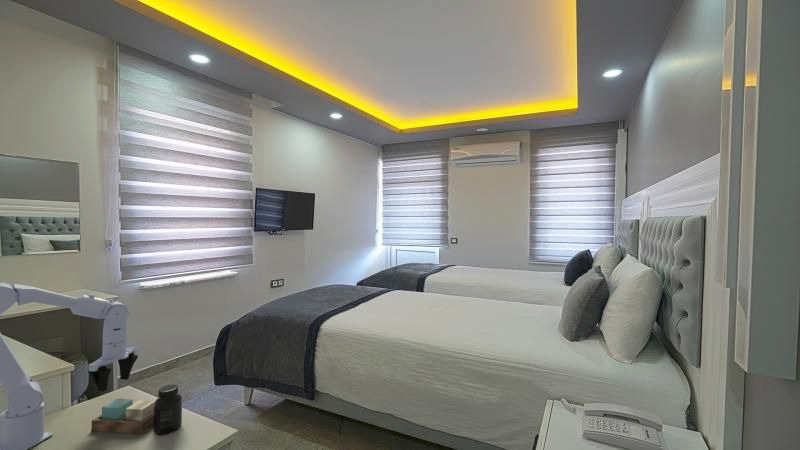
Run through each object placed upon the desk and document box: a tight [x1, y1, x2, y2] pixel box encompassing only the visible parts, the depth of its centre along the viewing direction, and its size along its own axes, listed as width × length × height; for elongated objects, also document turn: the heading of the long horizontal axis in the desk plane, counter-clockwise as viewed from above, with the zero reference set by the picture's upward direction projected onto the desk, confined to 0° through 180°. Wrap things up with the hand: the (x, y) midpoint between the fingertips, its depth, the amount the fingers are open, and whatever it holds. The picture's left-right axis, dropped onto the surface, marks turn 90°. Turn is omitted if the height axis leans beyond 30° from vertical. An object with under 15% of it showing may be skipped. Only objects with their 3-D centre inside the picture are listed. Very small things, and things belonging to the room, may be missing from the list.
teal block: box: [101, 398, 134, 420], centre depth 101 cm, size 5×5×5 cm
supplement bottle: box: [153, 383, 183, 436], centre depth 99 cm, size 7×7×12 cm
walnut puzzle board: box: [91, 399, 156, 435], centre depth 101 cm, size 16×8×6 cm, turn 86°
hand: (113, 384), depth 106 cm, fingers open, 7 cm apart
